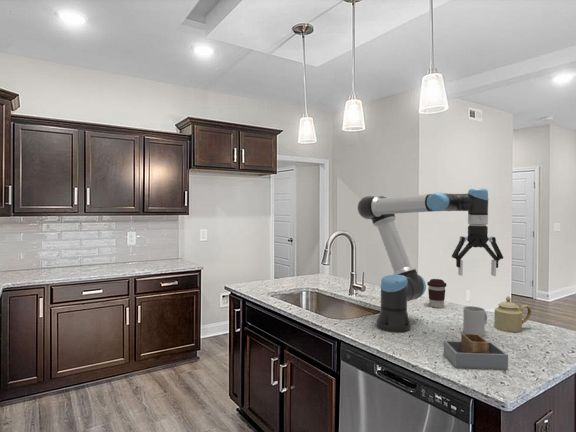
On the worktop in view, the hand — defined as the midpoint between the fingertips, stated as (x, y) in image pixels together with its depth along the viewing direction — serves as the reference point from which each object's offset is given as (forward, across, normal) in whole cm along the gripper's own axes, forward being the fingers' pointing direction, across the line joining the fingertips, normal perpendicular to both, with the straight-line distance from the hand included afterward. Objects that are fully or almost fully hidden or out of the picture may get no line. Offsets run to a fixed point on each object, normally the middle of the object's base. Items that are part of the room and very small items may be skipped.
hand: (476, 275), depth 162 cm
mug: (+27, +3, +7) cm, 28 cm away
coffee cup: (+27, 0, +51) cm, 58 cm away
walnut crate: (+26, -11, -26) cm, 38 cm away
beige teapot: (+27, +22, +16) cm, 38 cm away
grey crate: (+27, -11, -26) cm, 39 cm away
